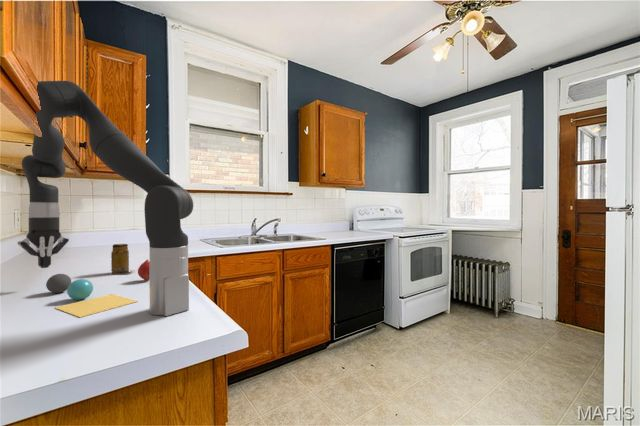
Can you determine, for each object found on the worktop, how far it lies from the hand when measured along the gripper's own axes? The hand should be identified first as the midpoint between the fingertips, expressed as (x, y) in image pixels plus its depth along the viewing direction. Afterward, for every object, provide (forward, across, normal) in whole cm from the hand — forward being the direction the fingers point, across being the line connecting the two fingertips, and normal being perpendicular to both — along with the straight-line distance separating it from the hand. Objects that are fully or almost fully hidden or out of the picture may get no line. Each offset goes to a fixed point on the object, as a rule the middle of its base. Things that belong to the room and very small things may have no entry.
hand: (44, 267), depth 97 cm
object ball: (+4, 0, +24) cm, 24 cm away
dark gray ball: (+4, 0, +10) cm, 11 cm away
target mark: (+7, 0, +34) cm, 35 cm away
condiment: (+7, -26, -2) cm, 27 cm away
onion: (+7, -23, +19) cm, 31 cm away
